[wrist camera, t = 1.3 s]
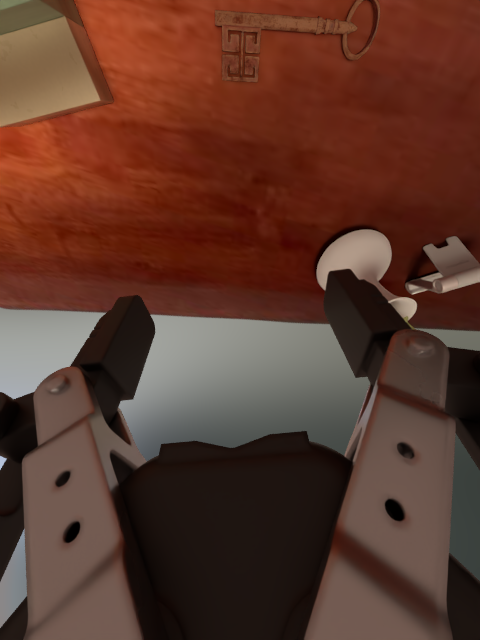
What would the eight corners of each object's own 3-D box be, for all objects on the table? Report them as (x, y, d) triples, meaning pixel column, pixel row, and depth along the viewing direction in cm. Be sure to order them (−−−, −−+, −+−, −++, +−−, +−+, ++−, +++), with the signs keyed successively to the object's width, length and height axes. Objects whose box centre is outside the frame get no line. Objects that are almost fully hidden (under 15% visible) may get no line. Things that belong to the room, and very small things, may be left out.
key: (216, 79, 24) (357, 88, 24) (216, 79, 23) (361, 88, 24) (214, -20, 19) (385, -5, 20) (214, -23, 19) (390, -8, 20)
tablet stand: (404, 288, 42) (435, 318, 36) (408, 250, 37) (445, 277, 31) (457, 272, 40) (500, 300, 34) (469, 230, 35) (521, 254, 29)
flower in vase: (300, 261, 38) (372, 405, 19) (366, 208, 32) (554, 333, 14) (339, 304, 44) (422, 443, 25) (399, 265, 39) (559, 403, 20)
